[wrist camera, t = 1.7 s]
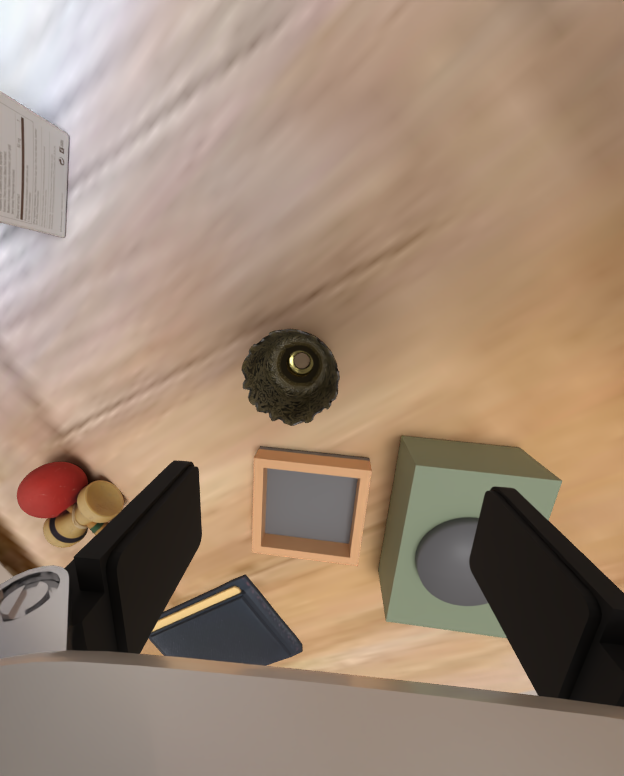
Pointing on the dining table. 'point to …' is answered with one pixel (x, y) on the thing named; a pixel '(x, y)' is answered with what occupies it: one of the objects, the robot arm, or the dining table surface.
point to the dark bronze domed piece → (290, 376)
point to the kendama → (68, 502)
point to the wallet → (226, 627)
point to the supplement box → (32, 170)
